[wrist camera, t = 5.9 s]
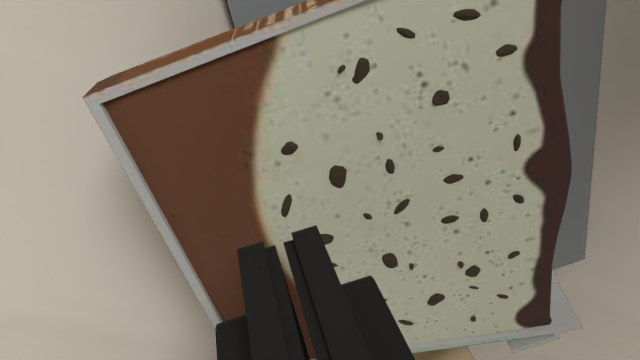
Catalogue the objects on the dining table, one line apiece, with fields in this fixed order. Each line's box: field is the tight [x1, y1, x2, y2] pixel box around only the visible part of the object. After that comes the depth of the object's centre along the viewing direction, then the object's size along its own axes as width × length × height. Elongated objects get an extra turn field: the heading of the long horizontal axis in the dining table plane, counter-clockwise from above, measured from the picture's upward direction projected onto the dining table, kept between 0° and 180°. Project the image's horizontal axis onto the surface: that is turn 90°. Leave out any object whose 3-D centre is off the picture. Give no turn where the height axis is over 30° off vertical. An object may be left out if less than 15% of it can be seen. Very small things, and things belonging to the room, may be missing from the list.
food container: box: [82, 0, 583, 360], centre depth 14 cm, size 12×6×10 cm
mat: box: [227, 0, 606, 269], centre depth 17 cm, size 12×18×1 cm, turn 12°
